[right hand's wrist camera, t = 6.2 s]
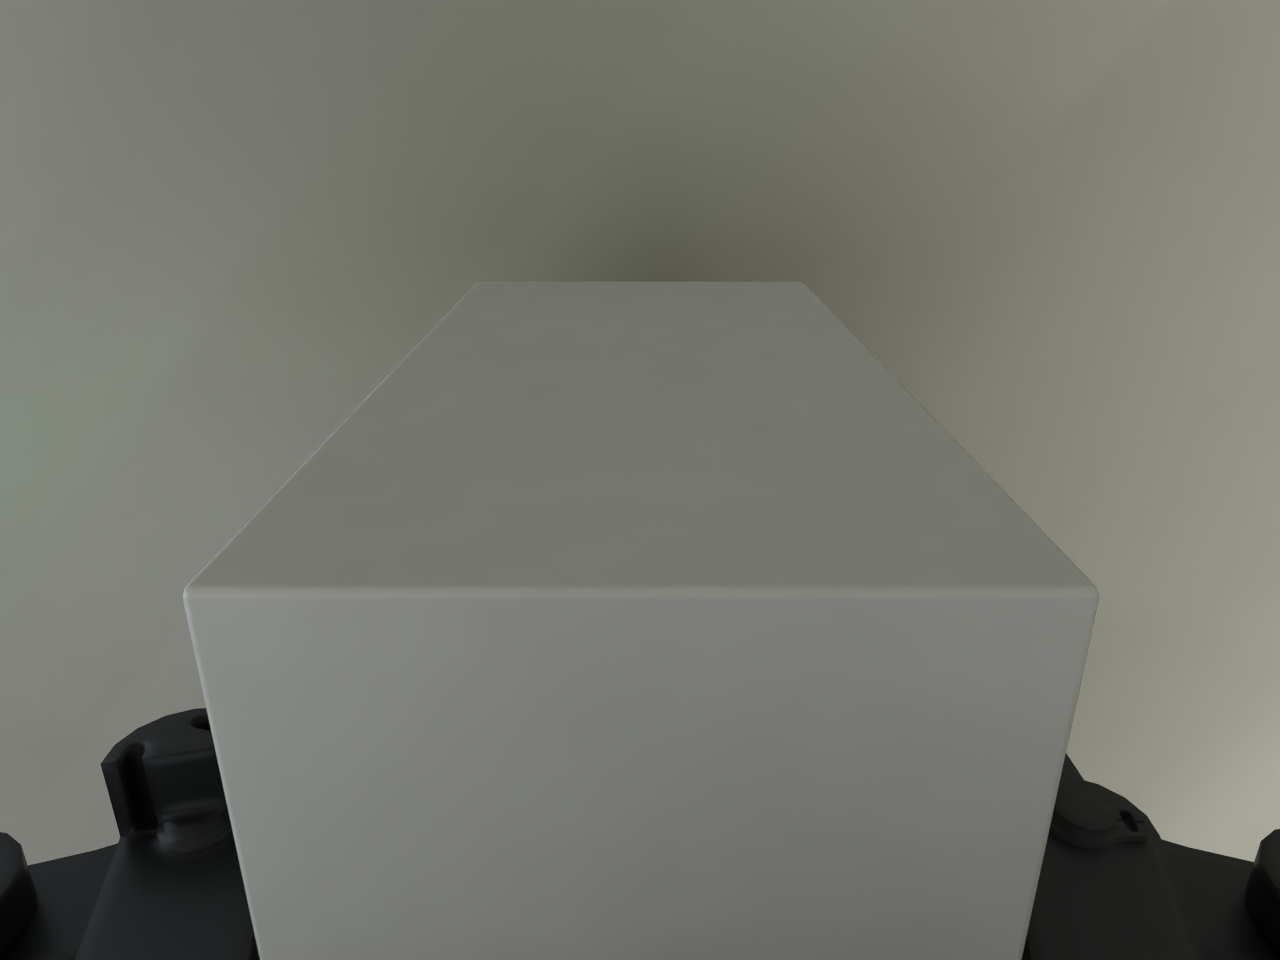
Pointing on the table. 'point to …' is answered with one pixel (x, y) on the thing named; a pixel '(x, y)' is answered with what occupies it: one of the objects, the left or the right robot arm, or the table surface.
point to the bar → (640, 651)
